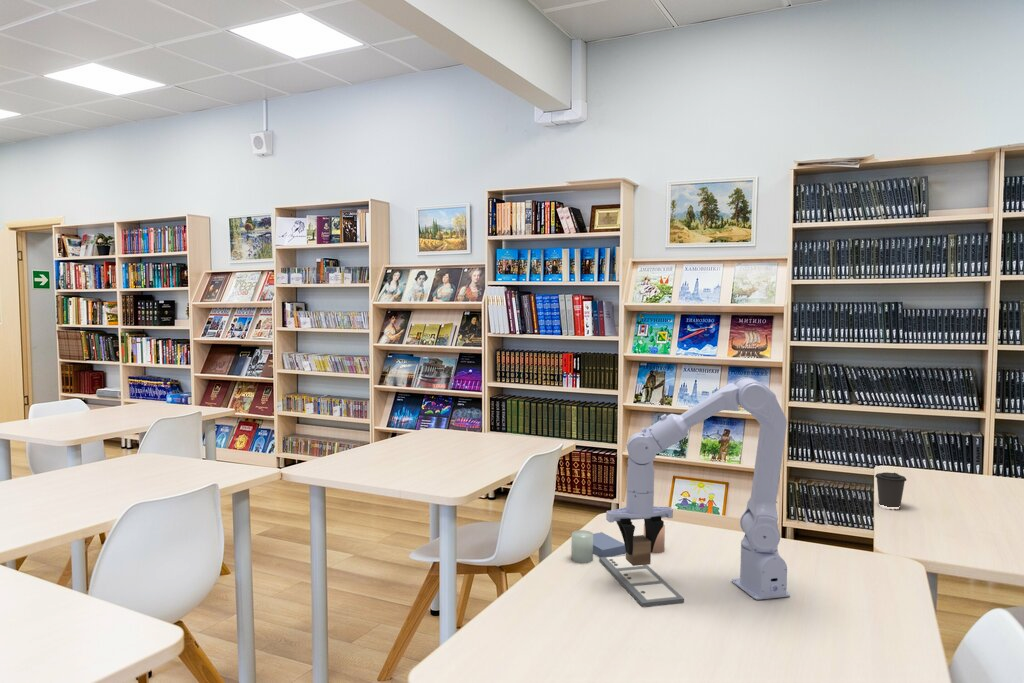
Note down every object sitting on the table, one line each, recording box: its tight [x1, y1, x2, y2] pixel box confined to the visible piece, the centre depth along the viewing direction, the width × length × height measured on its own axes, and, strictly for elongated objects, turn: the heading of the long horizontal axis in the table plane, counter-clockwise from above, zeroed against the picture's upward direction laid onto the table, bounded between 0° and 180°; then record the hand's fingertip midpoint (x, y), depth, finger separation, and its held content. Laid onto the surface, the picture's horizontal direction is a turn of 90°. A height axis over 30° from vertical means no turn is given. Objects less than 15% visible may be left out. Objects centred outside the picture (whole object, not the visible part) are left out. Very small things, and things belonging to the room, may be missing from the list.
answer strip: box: [598, 554, 685, 608], centre depth 146 cm, size 24×9×1 cm, turn 13°
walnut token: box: [625, 534, 652, 566], centre depth 146 cm, size 4×4×5 cm
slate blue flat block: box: [593, 531, 626, 558], centre depth 164 cm, size 10×7×2 cm
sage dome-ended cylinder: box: [570, 529, 594, 564], centre depth 157 cm, size 5×5×6 cm
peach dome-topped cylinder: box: [643, 522, 666, 554], centre depth 164 cm, size 5×5×6 cm
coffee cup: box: [875, 472, 907, 507], centre depth 198 cm, size 8×8×10 cm
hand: (639, 552), depth 145 cm, fingers closed on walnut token, 4 cm apart
